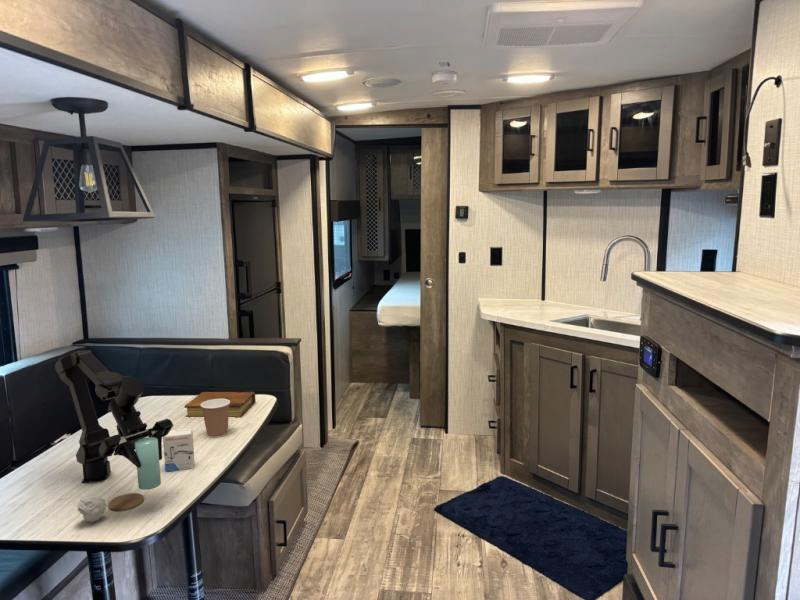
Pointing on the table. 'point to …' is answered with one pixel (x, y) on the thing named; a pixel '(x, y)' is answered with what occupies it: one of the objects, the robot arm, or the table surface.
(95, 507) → the white sculpted piece
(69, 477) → the table surface
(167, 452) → the ink box
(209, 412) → the coffee cup
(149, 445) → the teal round cylinder
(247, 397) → the diary
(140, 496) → the coaster
